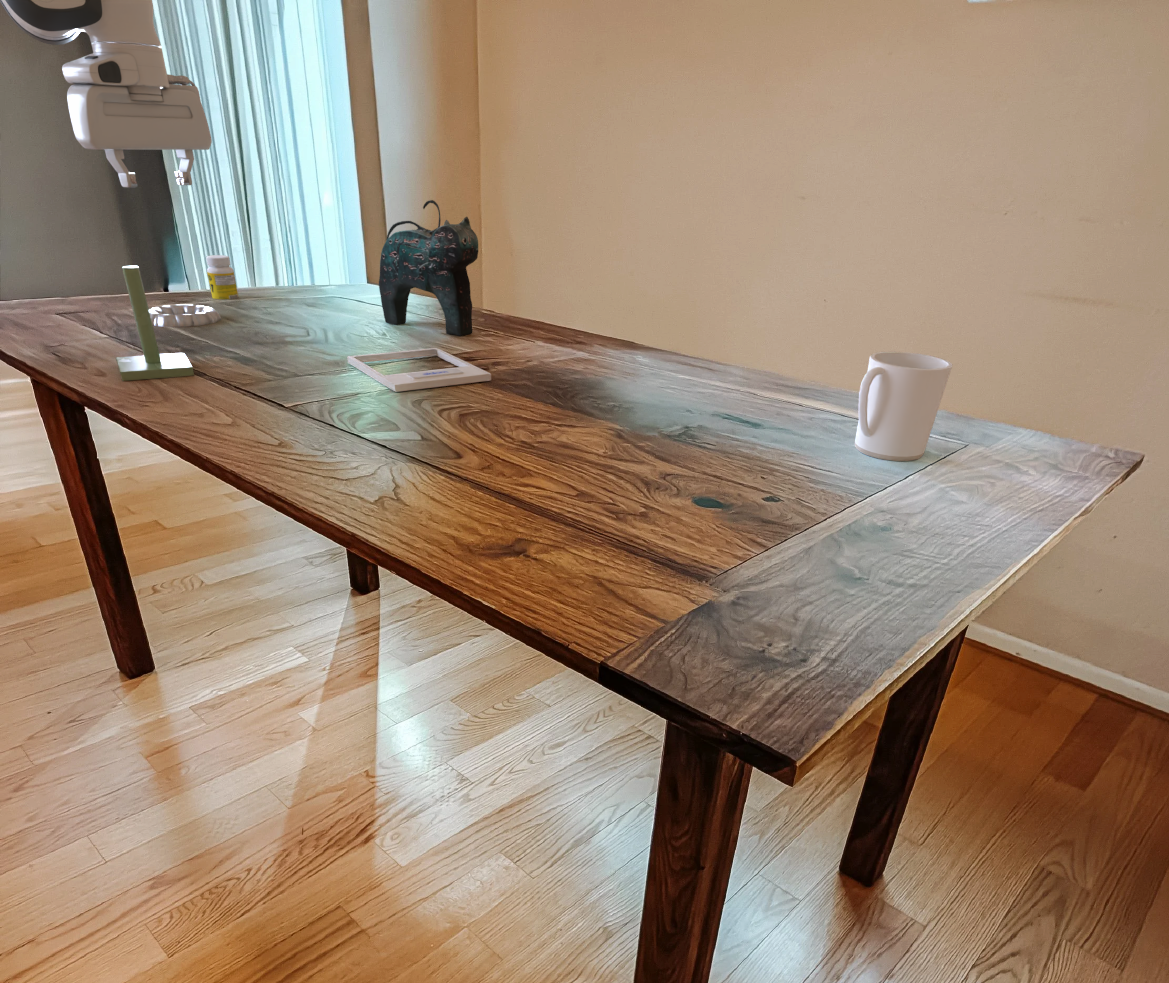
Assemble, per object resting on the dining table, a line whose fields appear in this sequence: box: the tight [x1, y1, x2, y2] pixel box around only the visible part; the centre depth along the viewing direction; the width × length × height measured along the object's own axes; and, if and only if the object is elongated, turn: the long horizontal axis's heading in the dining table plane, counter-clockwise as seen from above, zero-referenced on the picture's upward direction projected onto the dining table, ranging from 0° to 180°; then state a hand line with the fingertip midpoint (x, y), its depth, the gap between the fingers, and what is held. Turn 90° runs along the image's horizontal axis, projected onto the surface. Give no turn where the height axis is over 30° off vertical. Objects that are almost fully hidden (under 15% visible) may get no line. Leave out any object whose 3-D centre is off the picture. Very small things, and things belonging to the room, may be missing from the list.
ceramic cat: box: [378, 199, 479, 337], centre depth 140 cm, size 20×6×20 cm, turn 59°
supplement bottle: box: [205, 254, 239, 300], centre depth 154 cm, size 5×5×8 cm
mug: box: [854, 350, 953, 462], centre depth 94 cm, size 11×9×10 cm
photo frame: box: [346, 347, 492, 393], centre depth 119 cm, size 15×1×18 cm
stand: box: [115, 265, 195, 382], centre depth 111 cm, size 9×9×13 cm
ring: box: [149, 304, 222, 328], centre depth 137 cm, size 12×12×3 cm
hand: (158, 186), depth 122 cm, fingers open, 8 cm apart
